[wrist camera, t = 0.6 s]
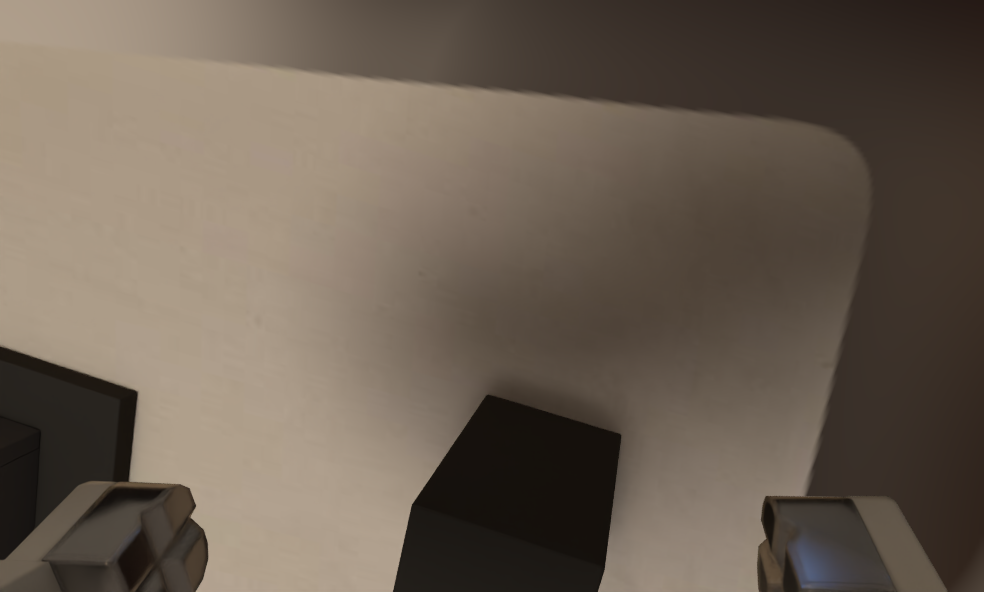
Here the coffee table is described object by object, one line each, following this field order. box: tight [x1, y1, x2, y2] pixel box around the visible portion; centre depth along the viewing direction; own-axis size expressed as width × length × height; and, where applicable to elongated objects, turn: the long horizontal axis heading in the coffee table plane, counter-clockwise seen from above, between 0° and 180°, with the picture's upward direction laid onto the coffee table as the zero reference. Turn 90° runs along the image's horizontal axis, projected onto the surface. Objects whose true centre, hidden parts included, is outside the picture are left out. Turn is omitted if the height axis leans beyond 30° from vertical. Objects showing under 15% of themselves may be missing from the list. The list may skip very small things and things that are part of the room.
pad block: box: [393, 395, 621, 592], centre depth 26 cm, size 4×6×10 cm
